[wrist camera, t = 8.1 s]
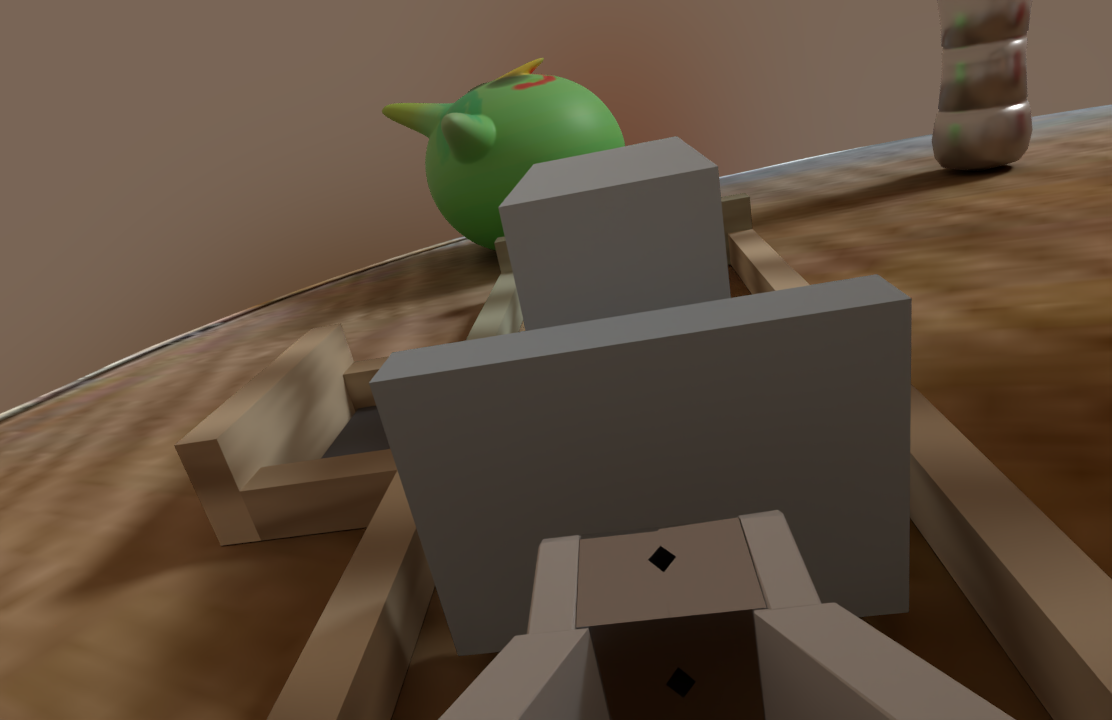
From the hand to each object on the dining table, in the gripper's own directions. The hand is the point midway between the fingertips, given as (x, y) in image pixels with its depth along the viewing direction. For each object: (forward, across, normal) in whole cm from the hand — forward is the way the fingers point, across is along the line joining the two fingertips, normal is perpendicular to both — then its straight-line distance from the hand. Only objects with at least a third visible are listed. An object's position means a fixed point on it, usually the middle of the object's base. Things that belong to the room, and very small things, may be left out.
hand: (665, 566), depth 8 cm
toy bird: (+50, +8, +7) cm, 51 cm away
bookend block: (+13, 0, +6) cm, 15 cm away
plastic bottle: (+50, -29, +7) cm, 58 cm away
